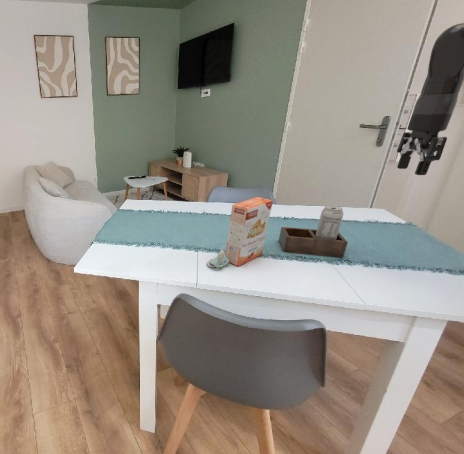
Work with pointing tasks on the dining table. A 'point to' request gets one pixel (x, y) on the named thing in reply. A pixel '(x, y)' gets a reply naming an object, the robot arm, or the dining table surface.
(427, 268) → the dining table surface
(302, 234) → the wooden box with compartments
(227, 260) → the pacifier
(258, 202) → the cracker box
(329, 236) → the energy drink can
